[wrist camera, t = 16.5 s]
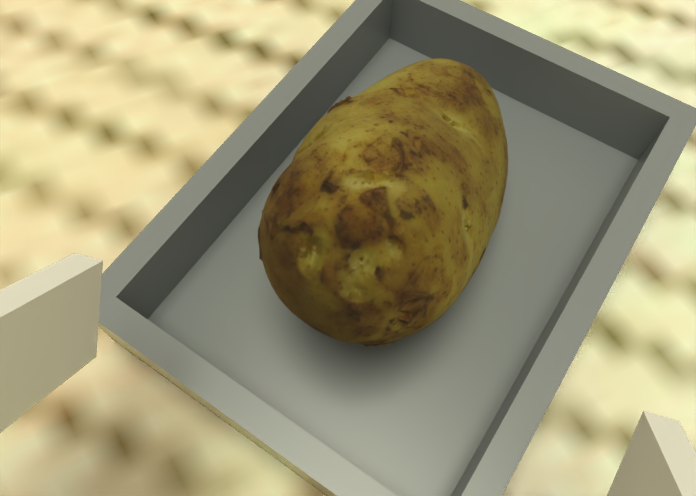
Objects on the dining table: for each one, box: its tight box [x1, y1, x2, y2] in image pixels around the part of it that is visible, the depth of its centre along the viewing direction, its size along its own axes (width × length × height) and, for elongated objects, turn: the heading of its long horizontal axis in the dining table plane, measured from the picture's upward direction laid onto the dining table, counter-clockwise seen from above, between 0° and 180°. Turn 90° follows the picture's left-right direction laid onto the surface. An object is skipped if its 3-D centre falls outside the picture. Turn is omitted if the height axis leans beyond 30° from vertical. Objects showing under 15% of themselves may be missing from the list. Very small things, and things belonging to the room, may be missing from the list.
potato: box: [258, 58, 508, 346], centre depth 22 cm, size 8×13×8 cm, turn 135°
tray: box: [98, 0, 696, 496], centre depth 25 cm, size 20×15×4 cm
